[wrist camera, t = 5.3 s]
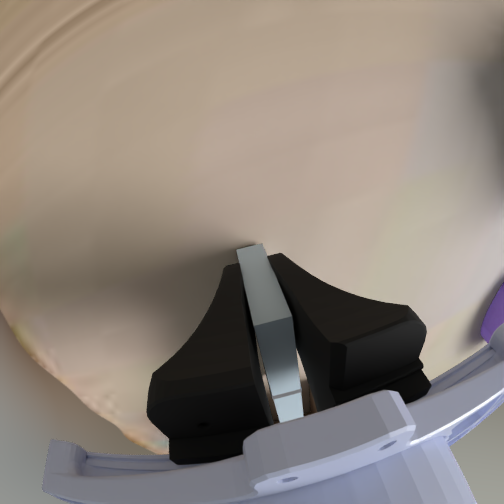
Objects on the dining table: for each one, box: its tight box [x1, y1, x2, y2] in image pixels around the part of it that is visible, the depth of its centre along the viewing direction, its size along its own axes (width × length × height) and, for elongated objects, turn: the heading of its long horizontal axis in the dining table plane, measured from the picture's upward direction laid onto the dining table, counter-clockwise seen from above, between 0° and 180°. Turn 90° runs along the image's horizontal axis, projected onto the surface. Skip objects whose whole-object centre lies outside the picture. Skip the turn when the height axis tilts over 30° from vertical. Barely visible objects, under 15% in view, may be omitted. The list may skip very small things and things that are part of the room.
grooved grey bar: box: [236, 244, 304, 423], centre depth 13 cm, size 10×1×5 cm, turn 10°
